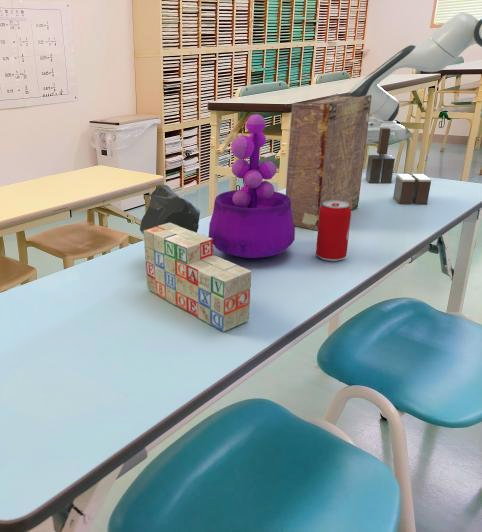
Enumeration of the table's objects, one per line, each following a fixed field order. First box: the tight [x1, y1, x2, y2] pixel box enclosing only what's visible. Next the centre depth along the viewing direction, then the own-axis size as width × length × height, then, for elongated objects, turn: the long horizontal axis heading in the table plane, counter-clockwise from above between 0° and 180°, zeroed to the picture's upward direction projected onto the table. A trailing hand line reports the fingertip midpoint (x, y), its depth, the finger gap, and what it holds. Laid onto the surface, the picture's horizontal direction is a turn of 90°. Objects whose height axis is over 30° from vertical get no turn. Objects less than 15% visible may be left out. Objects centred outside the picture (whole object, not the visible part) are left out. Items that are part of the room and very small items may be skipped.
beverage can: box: [315, 200, 352, 262], centre depth 110 cm, size 6×6×12 cm
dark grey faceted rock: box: [139, 184, 201, 236], centre depth 107 cm, size 14×15×18 cm
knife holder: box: [365, 154, 396, 184], centre depth 169 cm, size 7×6×8 cm
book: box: [285, 93, 372, 231], centre depth 134 cm, size 25×9×30 cm, turn 137°
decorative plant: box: [208, 114, 296, 259], centre depth 111 cm, size 19×18×30 cm
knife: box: [376, 128, 390, 184], centre depth 168 cm, size 2×5×17 cm, turn 169°
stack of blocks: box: [143, 223, 252, 333], centre depth 91 cm, size 21×6×12 cm, turn 35°
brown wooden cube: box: [392, 173, 432, 205], centre depth 147 cm, size 7×7×7 cm
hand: (377, 136), depth 174 cm, fingers open, 8 cm apart
